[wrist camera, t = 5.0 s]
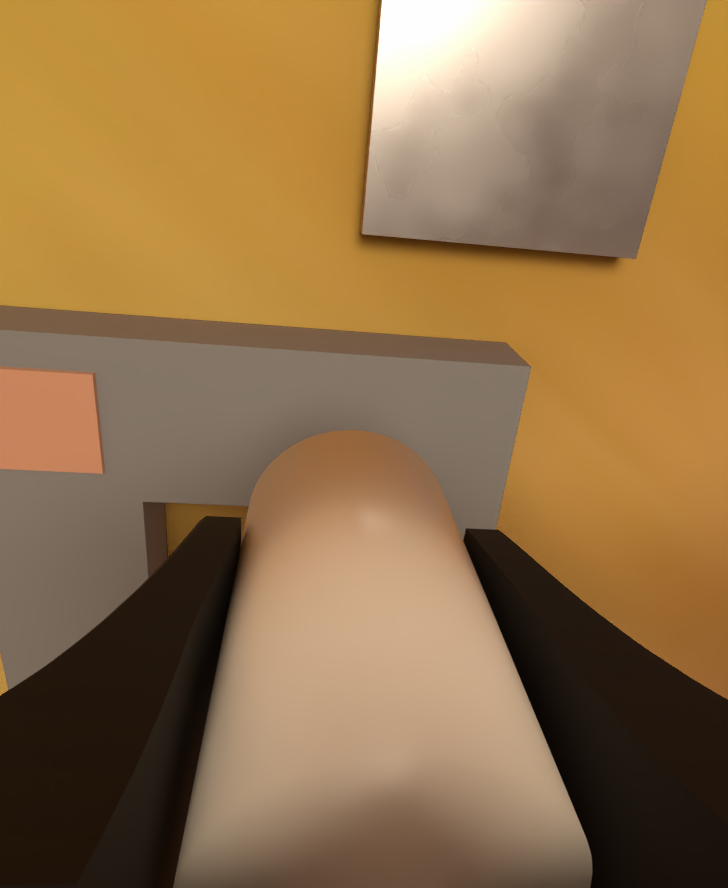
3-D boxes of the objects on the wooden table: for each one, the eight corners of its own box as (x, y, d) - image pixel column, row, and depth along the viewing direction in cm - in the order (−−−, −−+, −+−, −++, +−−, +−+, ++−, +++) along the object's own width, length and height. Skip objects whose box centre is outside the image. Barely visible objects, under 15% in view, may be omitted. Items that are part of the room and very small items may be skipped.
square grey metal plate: (707, -79, 15) (732, -95, 14) (620, 253, 18) (635, 258, 17) (389, -128, 14) (394, -148, 13) (359, 230, 17) (362, 234, 16)
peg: (462, 439, 11) (647, 763, 5) (427, 605, 13) (536, 1011, 7) (253, 420, 11) (170, 754, 5) (243, 595, 13) (170, 1023, 6)
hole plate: (506, 342, 19) (533, 368, 17) (435, 701, 26) (447, 757, 23) (-21, 304, 17) (-76, 326, 15) (49, 697, 24) (19, 757, 22)
